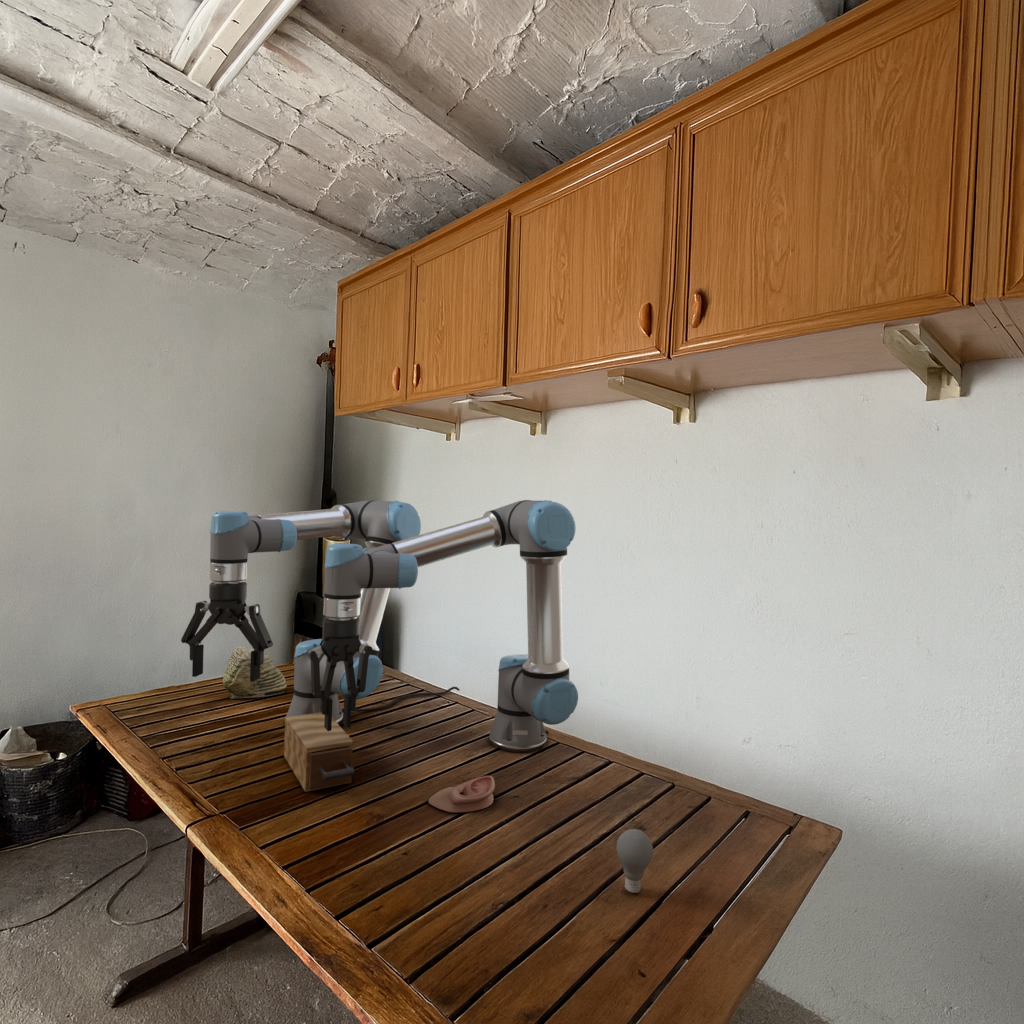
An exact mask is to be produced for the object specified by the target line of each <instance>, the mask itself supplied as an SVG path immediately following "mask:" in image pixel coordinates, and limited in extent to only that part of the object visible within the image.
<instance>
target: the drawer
mask: <svg viewBox="0 0 1024 1024" xmlns="http://www.w3.org/2000/svg"><path fill="white" fill-rule="evenodd" d="M354 775H355V769H354V767H353V749H352V747H345V746H344V747H338V748H332V749H326V750H320V751H314V752H311V753H310V772H309V789H310V790H312V791H314V790H313V789H317V790H319V789H318V788H322V789H324V788H323V787H327V788H329V787H328V786H332V787H334V786H333V785H337V786H339V785H338V784H342V785H344V784H343V783H347V784H349V783H348V782H351V783H352V776H354Z"/></svg>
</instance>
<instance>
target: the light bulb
mask: <svg viewBox="0 0 1024 1024" xmlns="http://www.w3.org/2000/svg"><path fill="white" fill-rule="evenodd" d="M615 849H616V854H617V857H618V859H619V861H620V863H621V865H622V867H623V873H624V874H623V875H624V876H625V878H624V888H625V890H627V891H628V892H630V893H634V894H635V893H639V892H640V891H641V889H642V887H641V886H642V879H643V877H644V875H645V871H646V868H647V867H648V866H649V864H650V863H651V861H652V859H653V855H654V847H653V843H652V841H651V838H649V836H648V835H647V834H646V833H645V832H643V831H642V830H641V829H636V828H629V829H627V830H625V831H623V832H622V833H621V834H620V835H619V837H618V839H617V841H616V847H615Z"/></svg>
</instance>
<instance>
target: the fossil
mask: <svg viewBox="0 0 1024 1024" xmlns="http://www.w3.org/2000/svg"><path fill="white" fill-rule="evenodd" d="M253 650H254V649H253V648H251V647H247V646H246V647H245V646H238V647H237V648H236V649H235V650H233V651H232V653H231V656H230V657H229V659H228V660H227V663H226V666H225V668H224V671H223V675H222V676H223V677H222V685H223V687H224V688H225V690H226V691H228V693H229V698H230V699H250V698H264V697H271V696H275V695H281V694H284V693H285V691H286V689H287V687H288V686H287V680H286V678H285V676H284V674H283V673H282V672H281V669H279V668H278V667H277V665H276V663H275V662H274V660H273V659H272V658H271V657H270V656H269V655H268V654H267V653H266V652H265V651H264V663H263V664H262V665H260V678H259V679H257V680H256V681H254V682H251V681H250V664H251V651H253Z"/></svg>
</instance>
